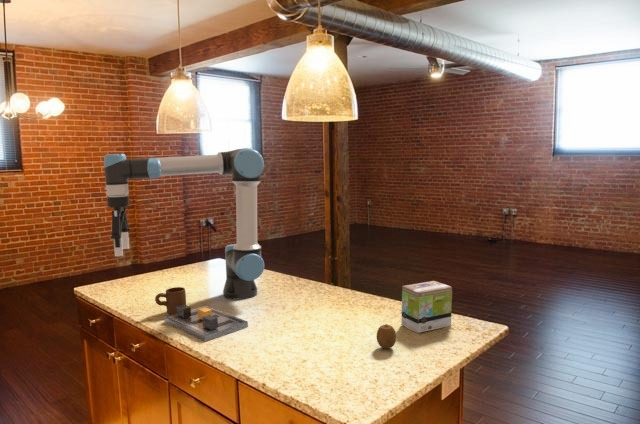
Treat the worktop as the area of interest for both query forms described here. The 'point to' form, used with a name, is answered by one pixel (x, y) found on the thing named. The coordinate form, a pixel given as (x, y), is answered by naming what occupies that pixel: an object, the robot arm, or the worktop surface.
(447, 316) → the tea box
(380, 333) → the fruit
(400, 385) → the worktop surface
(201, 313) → the tall orange block
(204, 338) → the panel
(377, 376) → the worktop surface
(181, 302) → the mug
